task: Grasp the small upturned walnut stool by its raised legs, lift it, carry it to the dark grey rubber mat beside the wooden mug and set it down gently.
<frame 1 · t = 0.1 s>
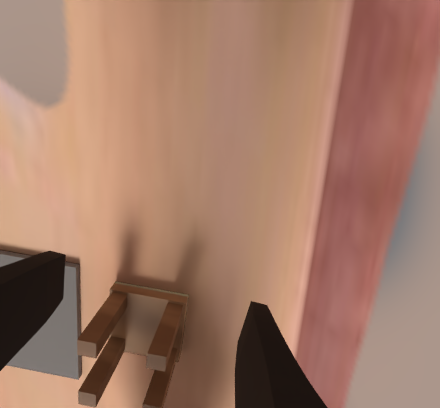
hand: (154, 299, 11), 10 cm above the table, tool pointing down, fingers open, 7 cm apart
stool: (150, 316, 24), on the table
mat: (14, 311, 25), on the table
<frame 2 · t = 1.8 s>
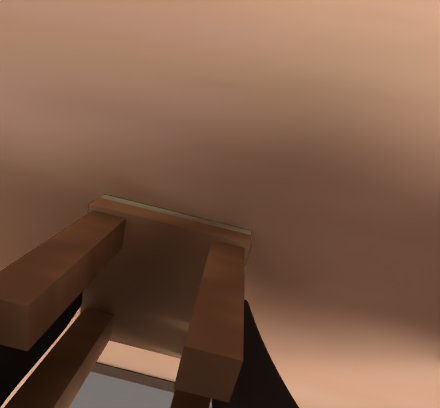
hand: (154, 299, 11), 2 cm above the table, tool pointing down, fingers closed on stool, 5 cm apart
stool: (165, 275, 12), on the table, touching gripper
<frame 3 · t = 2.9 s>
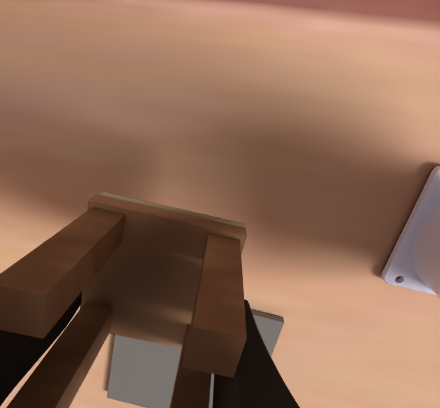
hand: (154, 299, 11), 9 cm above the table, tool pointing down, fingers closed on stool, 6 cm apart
stool: (163, 269, 13), point 6 cm above the table, touching gripper
mat: (188, 358, 23), on the table
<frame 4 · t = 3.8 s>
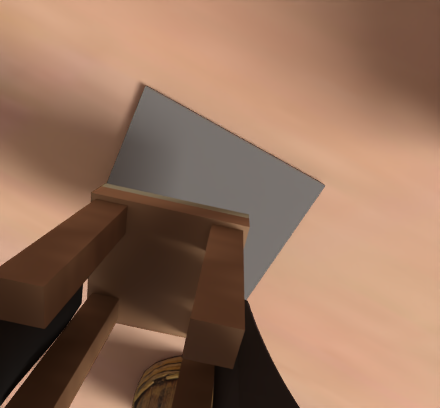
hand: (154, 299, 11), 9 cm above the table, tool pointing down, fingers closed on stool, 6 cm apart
stool: (167, 260, 13), point 6 cm above the table, touching gripper
wooden mug: (165, 391, 24), on the table
mat: (194, 217, 19), on the table
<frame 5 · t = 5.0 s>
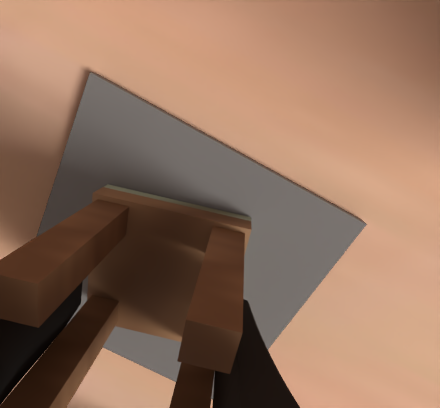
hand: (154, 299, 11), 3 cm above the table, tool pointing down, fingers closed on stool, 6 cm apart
stool: (168, 263, 12), point 1 cm above the table, touching gripper, mat
mat: (172, 263, 13), on the table
when the fingers open (3 cm above the table, at t = 5.8 s): stool stays where it is, resting on mat.
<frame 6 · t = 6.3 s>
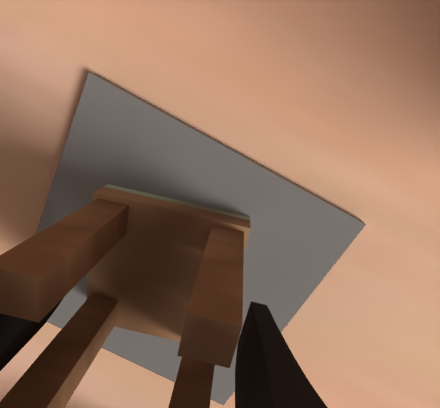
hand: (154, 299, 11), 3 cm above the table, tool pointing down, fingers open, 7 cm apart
stool: (168, 262, 12), resting on mat
mat: (171, 263, 13), on the table
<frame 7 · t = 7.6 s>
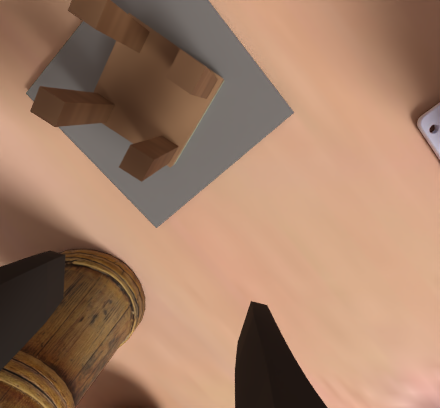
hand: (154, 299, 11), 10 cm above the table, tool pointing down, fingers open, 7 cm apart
stool: (157, 96, 17), resting on mat
wooden mug: (67, 285, 23), on the table
mat: (158, 102, 18), on the table
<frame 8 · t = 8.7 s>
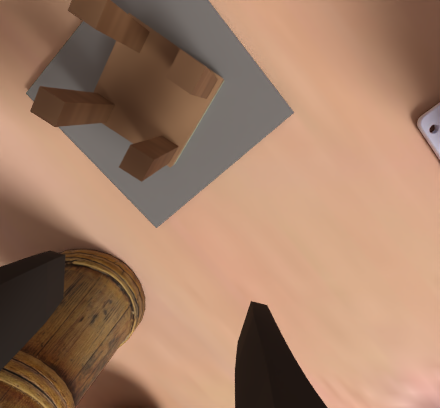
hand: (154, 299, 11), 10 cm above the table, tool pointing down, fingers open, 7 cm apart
stool: (157, 96, 17), resting on mat
wooden mug: (68, 285, 23), on the table
mat: (158, 102, 18), on the table
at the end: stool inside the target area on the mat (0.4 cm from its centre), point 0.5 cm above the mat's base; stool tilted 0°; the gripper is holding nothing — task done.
